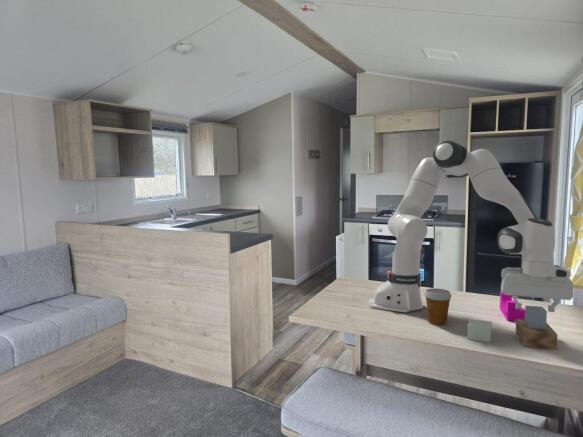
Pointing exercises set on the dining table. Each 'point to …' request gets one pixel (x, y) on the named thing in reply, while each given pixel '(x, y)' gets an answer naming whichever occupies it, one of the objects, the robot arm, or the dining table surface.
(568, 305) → the dining table surface
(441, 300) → the disposable coffee cup
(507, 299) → the toy block
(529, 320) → the slate block
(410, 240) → the robot arm
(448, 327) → the dining table surface
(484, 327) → the sage block
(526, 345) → the walnut pedestal
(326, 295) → the dining table surface
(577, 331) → the dining table surface
